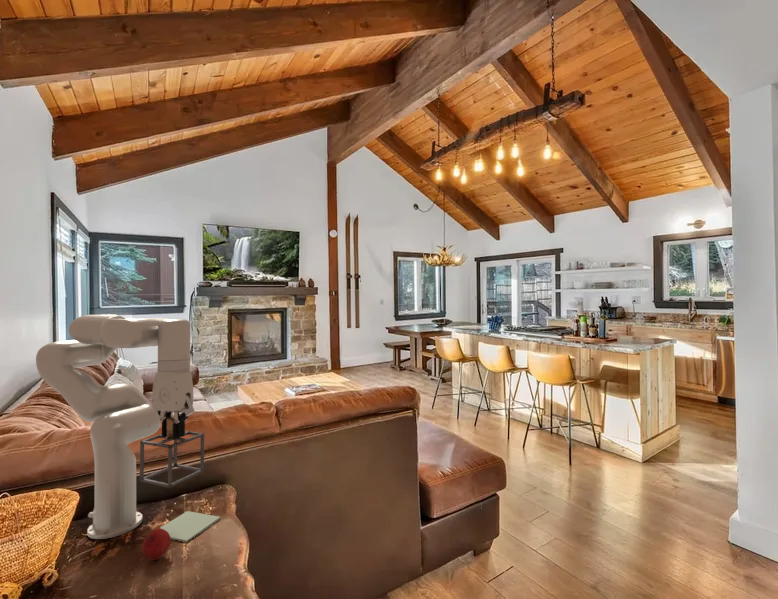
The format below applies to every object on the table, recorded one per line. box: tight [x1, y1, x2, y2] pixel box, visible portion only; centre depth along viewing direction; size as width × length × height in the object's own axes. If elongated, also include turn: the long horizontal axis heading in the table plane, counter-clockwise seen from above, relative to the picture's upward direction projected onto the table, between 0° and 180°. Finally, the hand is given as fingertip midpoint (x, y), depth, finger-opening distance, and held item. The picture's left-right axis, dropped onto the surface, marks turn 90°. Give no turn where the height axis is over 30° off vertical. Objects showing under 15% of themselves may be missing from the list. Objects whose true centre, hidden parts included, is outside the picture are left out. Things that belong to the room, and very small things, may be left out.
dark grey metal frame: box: [139, 415, 205, 489], centre depth 102 cm, size 10×10×15 cm
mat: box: [160, 510, 221, 543], centre depth 107 cm, size 12×12×1 cm
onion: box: [141, 524, 172, 561], centre depth 93 cm, size 6×6×8 cm
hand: (173, 435), depth 102 cm, fingers closed on dark grey metal frame, 3 cm apart
